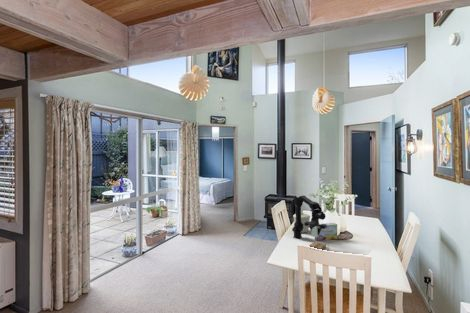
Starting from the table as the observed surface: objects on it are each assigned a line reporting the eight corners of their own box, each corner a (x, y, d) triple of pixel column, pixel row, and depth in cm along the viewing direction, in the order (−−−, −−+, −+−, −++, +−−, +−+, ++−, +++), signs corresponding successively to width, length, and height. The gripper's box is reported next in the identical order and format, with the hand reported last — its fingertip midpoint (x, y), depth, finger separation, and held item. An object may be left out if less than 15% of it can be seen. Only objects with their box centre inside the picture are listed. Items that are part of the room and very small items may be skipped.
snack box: (317, 241, 240) (317, 225, 239) (314, 239, 245) (314, 223, 245) (337, 239, 244) (337, 223, 243) (334, 237, 249) (334, 222, 249)
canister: (307, 235, 257) (307, 214, 256) (290, 232, 267) (290, 212, 266) (312, 230, 272) (312, 210, 271) (296, 227, 282) (296, 209, 281)
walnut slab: (309, 248, 223) (309, 245, 223) (314, 244, 232) (314, 241, 232) (321, 251, 216) (321, 248, 216) (326, 247, 225) (326, 244, 225)
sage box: (311, 236, 224) (311, 228, 224) (314, 234, 228) (313, 227, 228) (317, 237, 221) (316, 229, 221) (319, 235, 225) (319, 228, 225)
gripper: (301, 217, 224) (301, 234, 224) (321, 220, 212) (322, 239, 212) (306, 214, 233) (307, 231, 233) (326, 217, 220) (327, 235, 221)
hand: (315, 234), depth 224 cm, fingers closed on sage box, 5 cm apart
